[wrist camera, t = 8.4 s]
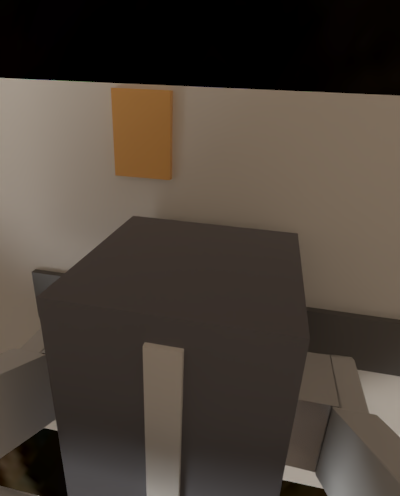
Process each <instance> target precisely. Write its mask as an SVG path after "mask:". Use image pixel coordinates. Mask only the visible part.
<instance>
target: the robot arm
mask: <svg viewBox="0 0 400 496" xmlns="http://www.w3.org/2000/svg"><path fill="white" fill-rule="evenodd" d="M54 420H56V417H55V411H54V405H53V398H52V392H51V386H50V380H49V373H48V367H47V361H46V355H45V348H44V342H43V336H42V330H41V329H39V330H38V331H37V332H36V333H35V334H34V335H33V336H32V337H31V338H30V339H29V340H28V341H27V342H26V343H25V344H24V345H23V346H22V347H21V348H20V349H15V348H13V349H10V350H8V351H5V352H3V353H0V458H1V457H3V456H4V455H6V454H7V453H9V452H10V451H11V450H13V449H14V448H16V447H17V446H19V445H20V444H21V443H23V442H24V441H26V440H27V439H29V438H30V437H31V436H33V435H34V434H36V433H37V432H39V431H40V430H41V429H43V428H44V427H46V426H47V425H49V424H50V423H51V422H53V421H54ZM285 465H287V466H291V467H295V468H299V469H303V470H308V471H312V472H316V474H315V475H316V477H317V478H318V480H319V482H320V483H321V485H322V487H323V488H324V490H325V492H326V494H327V495H328V496H400V437H399V436H398V435H397V434H396V433H395V432H394V431H393V430H392V429H391V428H390V427H389V426H388V425H387V424H386V423H385V422H384V421H383V420H382V419H381V418H380V417H379V416H378V415H375V414H369V410H368V407H367V403H366V399H365V396H364V392H363V389H362V385H361V382H360V378H359V374H358V371H357V367H356V364H355V360H354V359H353V358H352V357H347V356H339V355H332V354H329V355H326V354H320V353H314V352H307V357H306V362H305V367H304V372H303V377H302V382H301V387H300V392H299V397H298V403H297V408H296V413H295V418H294V423H293V428H292V433H291V438H290V443H289V448H288V454H287V459H286V464H285ZM0 496H38V495H34V494H30V493H26V492H22V491H18V490H14V489H10V488H7V487H3V486H0Z"/></svg>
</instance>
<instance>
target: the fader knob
mask: <svg viewBox="0 0 400 496" xmlns="http://www.w3.org/2000/svg"><path fill="white" fill-rule="evenodd" d="M36 298H37V305H38V311H39V317H40V323H41V330H42V336H43V342H44V348H45V355H46V361H47V367H48V373H49V380H50V386H51V392H52V398H53V405H54V411H55V417H56V424H57V430H58V436H59V442H60V449H61V455H62V461H63V467H64V474H65V480H66V486H67V492H68V496H279V494H280V489H281V484H282V479H283V474H284V469H285V464H286V459H287V454H288V448H289V443H290V438H291V433H292V428H293V423H294V418H295V413H296V408H297V403H298V397H299V392H300V387H301V382H302V377H303V372H304V367H305V362H306V357H307V352H308V346H309V341H310V335H309V326H308V318H307V309H306V300H305V292H304V283H303V274H302V266H301V257H300V248H299V240H298V233H289V232H280V231H270V230H261V229H252V228H242V227H233V226H224V225H214V224H205V223H196V222H186V221H177V220H168V219H158V218H149V217H140V216H132V217H131V218H130V219H129V220H127V221H126V222H125V223H124V224H123V225H121V226H120V227H119V228H118V229H117V230H116V231H114V232H113V233H112V234H111V235H110V236H108V237H107V238H106V239H105V240H104V241H102V242H101V243H100V244H99V245H98V246H96V247H95V248H94V249H93V250H92V251H91V252H89V253H88V254H87V255H86V256H85V257H83V258H82V259H81V260H80V261H79V262H77V263H76V264H75V265H74V266H73V267H72V268H70V269H69V270H68V271H67V272H66V273H64V274H63V275H62V276H61V277H60V278H58V279H57V280H56V281H55V282H54V283H52V284H51V285H50V286H49V287H48V288H47V289H45V290H44V291H43V292H42V293H41V294H39V295H38V296H37V297H36Z"/></svg>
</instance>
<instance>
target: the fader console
mask: <svg viewBox="0 0 400 496" xmlns="http://www.w3.org/2000/svg"><path fill="white" fill-rule="evenodd" d="M132 216H140V217H149V218H158V219H168V220H177V221H186V222H196V223H205V224H214V225H224V226H233V227H242V228H252V229H261V230H270V231H280V232H289V233H298V240H299V248H300V257H301V266H302V274H303V283H304V292H305V300H306V309H307V318H308V326H309V335H310V341H309V346H308V352H314V353H320V354H326V355H329V354H332V355H339V356H347V357H352V358H353V359H354V360H355V364H356V367H357V371H358V374H359V378H360V382H361V385H362V389H363V392H364V396H365V399H366V403H367V407H368V410H369V414H375V415H378V416H379V417H380V418H381V419H382V420H383V421H384V422H385V423H386V424H387V425H388V426H389V427H390V428H391V429H392V430H393V431H394V432H395V433H396V434H397V435H398V436H399V437H400V96H397V95H375V94H352V93H329V92H306V91H284V90H261V89H238V88H215V87H193V86H170V85H147V84H125V83H102V82H79V81H56V80H34V79H11V78H0V353H3V352H5V351H8V350H10V349H13V348H15V349H20V348H21V347H22V346H23V345H24V344H25V343H26V342H27V341H28V340H29V339H30V338H31V337H32V336H33V335H34V334H35V333H36V332H37V331H38V330H39V329H41V323H40V317H39V311H38V305H37V298H36V297H37V296H38V295H39V294H41V293H42V292H43V291H44V290H45V289H47V288H48V287H49V286H50V285H51V284H52V283H54V282H55V281H56V280H57V279H58V278H60V277H61V276H62V275H63V274H64V273H66V272H67V271H68V270H69V269H70V268H72V267H73V266H74V265H75V264H76V263H77V262H79V261H80V260H81V259H82V258H83V257H85V256H86V255H87V254H88V253H89V252H91V251H92V250H93V249H94V248H95V247H96V246H98V245H99V244H100V243H101V242H102V241H104V240H105V239H106V238H107V237H108V236H110V235H111V234H112V233H113V232H114V231H116V230H117V229H118V228H119V227H120V226H121V225H123V224H124V223H125V222H126V221H127V220H129V219H130V218H131V217H132ZM44 428H47V429H52V430H57V424H56V420H54V421H53V422H51V423H50V424H49V425H47V426H46V427H44ZM57 431H58V430H57ZM315 474H316V472H312V471H308V470H303V469H299V468H295V467H291V466H287V465H285V469H284V474H283V479H282V480H286V481H291V482H295V483H300V484H304V485H309V486H314V487H318V488H323V487H322V485H321V483H320V482H319V480H318V478H317V477H316V475H315ZM323 489H324V488H323Z"/></svg>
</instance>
